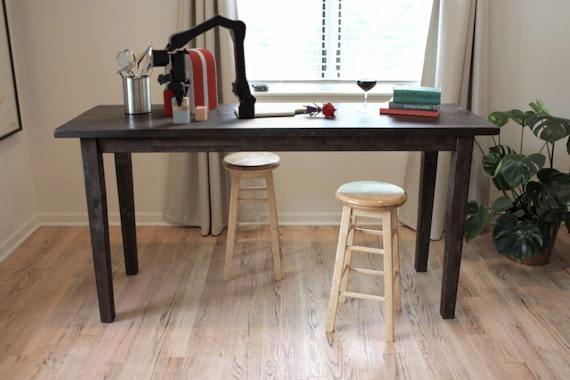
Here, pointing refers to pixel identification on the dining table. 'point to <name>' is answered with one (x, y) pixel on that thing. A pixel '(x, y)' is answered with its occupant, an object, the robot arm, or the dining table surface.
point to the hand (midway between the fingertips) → (180, 105)
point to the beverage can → (168, 102)
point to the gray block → (181, 116)
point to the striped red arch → (200, 78)
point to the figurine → (326, 110)
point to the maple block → (183, 106)
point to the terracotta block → (201, 113)
